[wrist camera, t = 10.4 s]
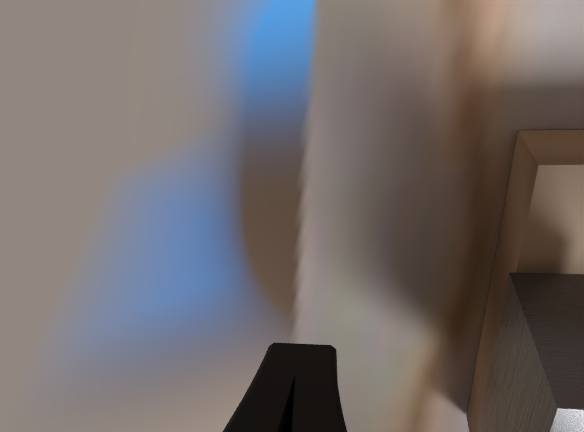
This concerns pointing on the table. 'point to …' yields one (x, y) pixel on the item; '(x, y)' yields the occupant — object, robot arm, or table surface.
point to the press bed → (534, 229)
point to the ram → (537, 357)
